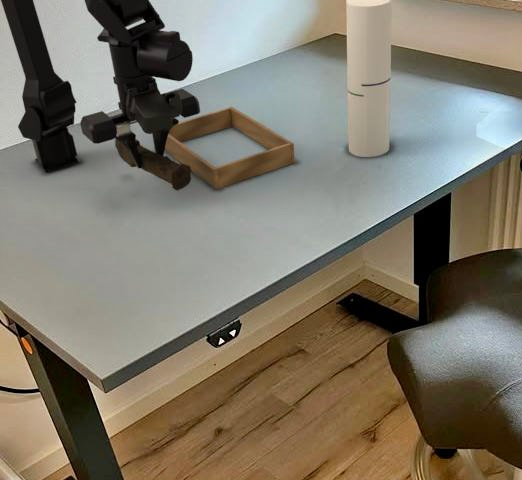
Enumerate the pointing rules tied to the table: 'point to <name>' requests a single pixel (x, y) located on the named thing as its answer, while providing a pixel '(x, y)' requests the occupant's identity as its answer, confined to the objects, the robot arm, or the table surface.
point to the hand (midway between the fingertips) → (149, 164)
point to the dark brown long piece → (158, 165)
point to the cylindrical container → (368, 76)
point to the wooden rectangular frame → (236, 170)
